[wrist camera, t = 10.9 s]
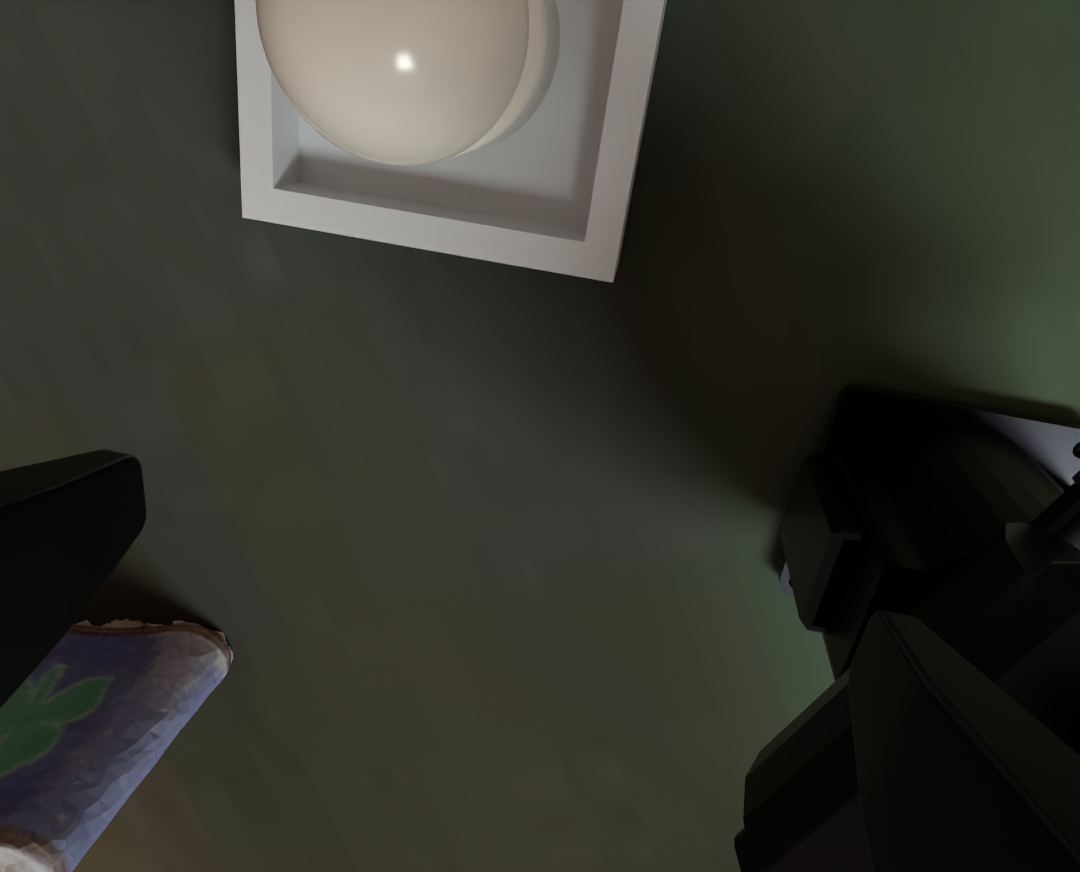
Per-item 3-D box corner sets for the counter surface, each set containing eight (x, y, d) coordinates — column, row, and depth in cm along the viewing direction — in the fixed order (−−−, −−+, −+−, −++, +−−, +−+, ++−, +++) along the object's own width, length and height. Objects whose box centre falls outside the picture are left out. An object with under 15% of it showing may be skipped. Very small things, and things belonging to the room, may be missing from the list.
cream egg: (576, -74, 16) (519, -163, 10) (544, 165, 18) (483, 202, 12) (358, -103, 16) (186, -206, 11) (351, 133, 18) (205, 154, 13)
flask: (227, 620, 27) (-25, 920, 17) (247, 684, 28) (22, 998, 18) (4, 611, 28) (-338, 880, 19) (32, 672, 30) (-276, 954, 20)
